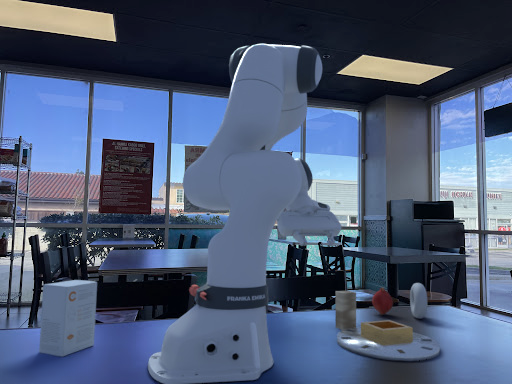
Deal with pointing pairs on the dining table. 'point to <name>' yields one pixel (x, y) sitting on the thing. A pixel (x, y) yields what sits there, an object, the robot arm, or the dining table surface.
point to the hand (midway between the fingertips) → (318, 244)
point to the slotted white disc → (388, 341)
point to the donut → (418, 300)
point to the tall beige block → (345, 309)
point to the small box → (68, 317)
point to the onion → (382, 301)
